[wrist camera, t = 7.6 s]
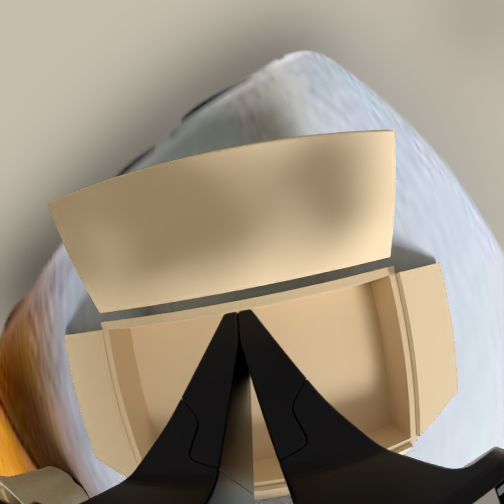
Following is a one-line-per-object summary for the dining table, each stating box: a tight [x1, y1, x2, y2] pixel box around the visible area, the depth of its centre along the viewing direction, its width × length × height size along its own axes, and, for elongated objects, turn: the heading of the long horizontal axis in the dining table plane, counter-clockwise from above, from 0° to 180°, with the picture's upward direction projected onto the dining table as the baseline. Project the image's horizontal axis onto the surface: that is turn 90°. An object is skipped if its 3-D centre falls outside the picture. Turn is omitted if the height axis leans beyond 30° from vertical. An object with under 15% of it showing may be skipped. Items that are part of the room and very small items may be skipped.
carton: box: [64, 262, 458, 500], centre depth 15 cm, size 16×30×4 cm, turn 101°
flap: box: [48, 130, 396, 313], centre depth 13 cm, size 1×17×7 cm
